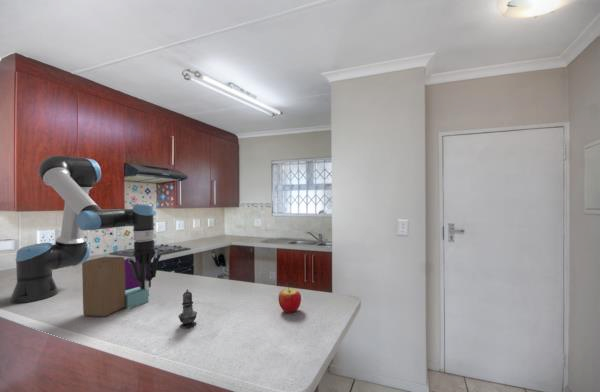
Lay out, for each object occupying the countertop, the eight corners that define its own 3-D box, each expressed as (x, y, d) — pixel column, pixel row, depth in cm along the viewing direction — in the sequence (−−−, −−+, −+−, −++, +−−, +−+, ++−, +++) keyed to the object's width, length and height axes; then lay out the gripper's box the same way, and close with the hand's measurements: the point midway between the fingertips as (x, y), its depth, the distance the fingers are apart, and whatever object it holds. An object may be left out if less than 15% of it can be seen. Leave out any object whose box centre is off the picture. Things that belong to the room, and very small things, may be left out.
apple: (290, 304, 110) (289, 279, 110) (306, 310, 104) (305, 283, 104) (274, 311, 104) (273, 284, 104) (289, 317, 98) (288, 288, 98)
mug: (134, 294, 127) (133, 261, 127) (110, 291, 133) (109, 259, 133) (151, 288, 135) (150, 256, 135) (128, 285, 141) (128, 255, 141)
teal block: (118, 304, 115) (118, 292, 115) (139, 298, 122) (138, 286, 122) (127, 308, 111) (127, 295, 111) (148, 302, 117) (148, 289, 117)
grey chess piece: (186, 331, 90) (185, 293, 90) (174, 326, 93) (173, 290, 93) (201, 323, 95) (200, 287, 95) (190, 320, 98) (189, 285, 98)
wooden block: (104, 317, 102) (103, 262, 102) (81, 316, 104) (80, 261, 104) (126, 307, 112) (125, 256, 112) (105, 305, 114) (104, 256, 114)
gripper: (131, 243, 113) (133, 302, 112) (163, 238, 123) (165, 293, 123) (123, 241, 117) (125, 299, 117) (155, 237, 127) (156, 290, 127)
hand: (145, 295), depth 120 cm, fingers closed
